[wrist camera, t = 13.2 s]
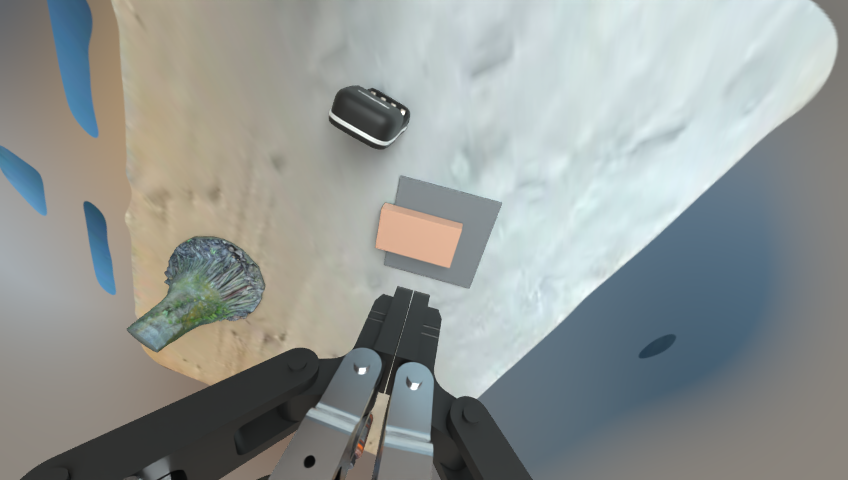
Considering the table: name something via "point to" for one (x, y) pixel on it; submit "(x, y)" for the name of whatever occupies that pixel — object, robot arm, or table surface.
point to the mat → (454, 207)
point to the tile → (418, 235)
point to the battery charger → (369, 116)
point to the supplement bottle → (361, 442)
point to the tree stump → (201, 291)
